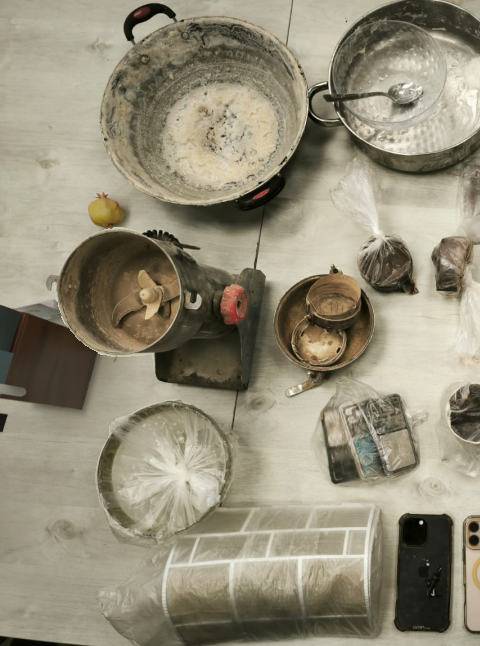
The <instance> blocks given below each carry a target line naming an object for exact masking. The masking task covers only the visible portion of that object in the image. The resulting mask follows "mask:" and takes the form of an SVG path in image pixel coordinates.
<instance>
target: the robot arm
mask: <svg viewBox="0 0 480 646" xmlns="http://www.w3.org/2000/svg"><path fill="white" fill-rule="evenodd" d="M8 416H9V413H2V412H0V433H3V432H4V429H5V426H6V423H7V419H8Z"/></svg>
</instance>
